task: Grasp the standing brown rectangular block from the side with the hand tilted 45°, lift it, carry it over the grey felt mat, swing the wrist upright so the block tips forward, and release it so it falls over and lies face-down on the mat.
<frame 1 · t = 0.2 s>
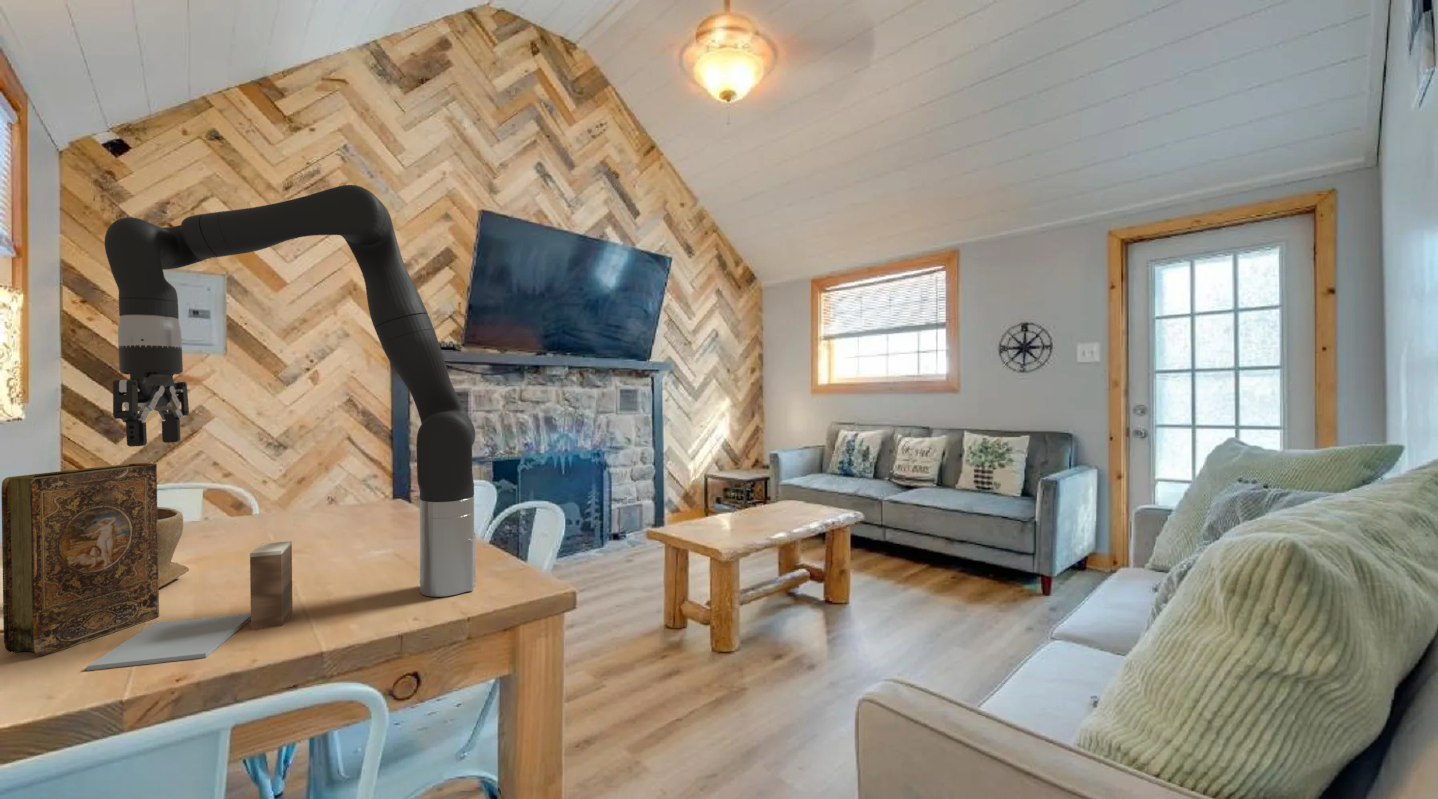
hand: (155, 444, 97), 28 cm above the table, tool pointing down, fingers open, 8 cm apart
book: (91, 634, 90), on the table
stone cup: (147, 589, 110), on the table
felt mat: (178, 641, 88), on the table
brown rectangular block: (272, 620, 96), on the table
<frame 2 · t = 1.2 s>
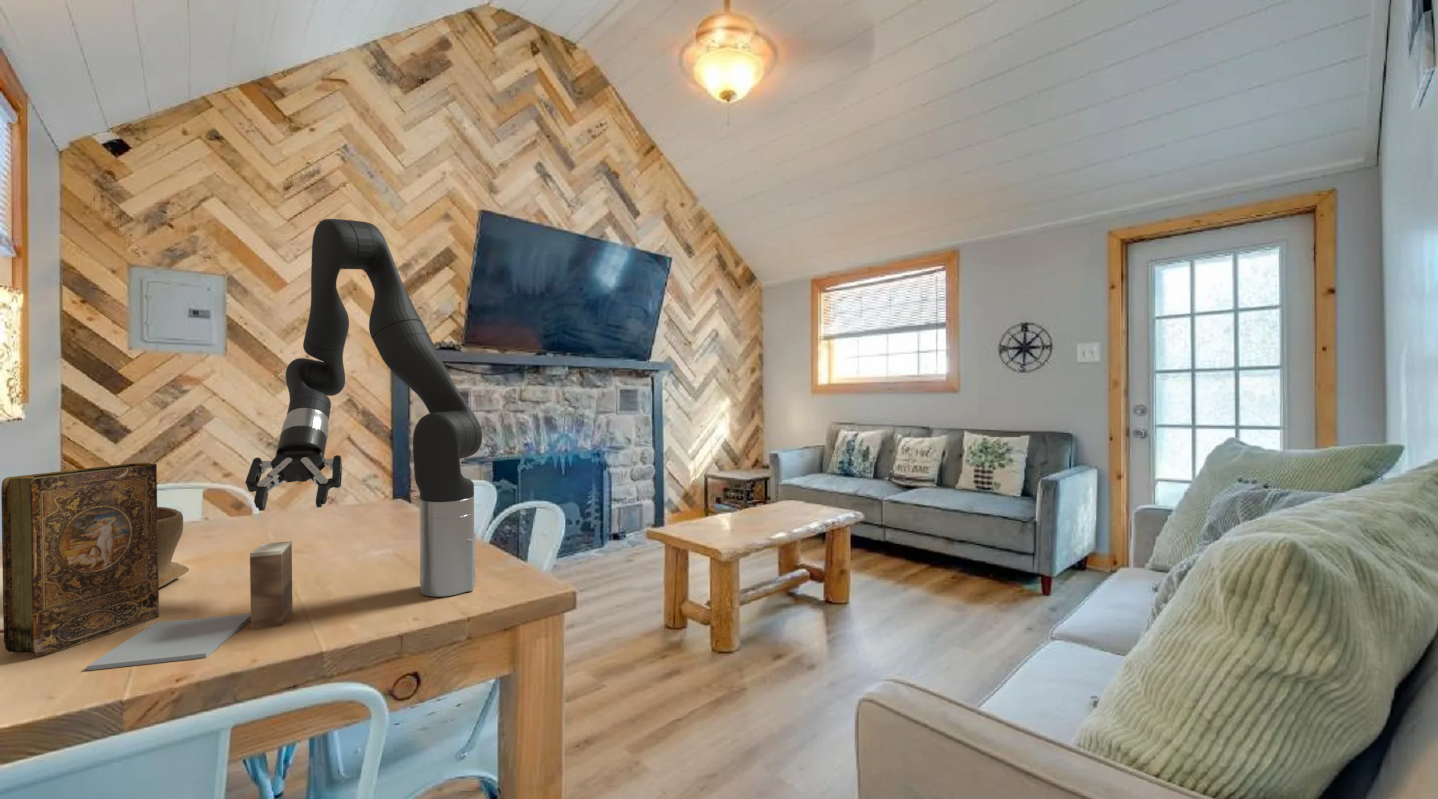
hand: (290, 506, 106), 16 cm above the table, tool tilted 45°, fingers open, 8 cm apart
nothing on the table moved.
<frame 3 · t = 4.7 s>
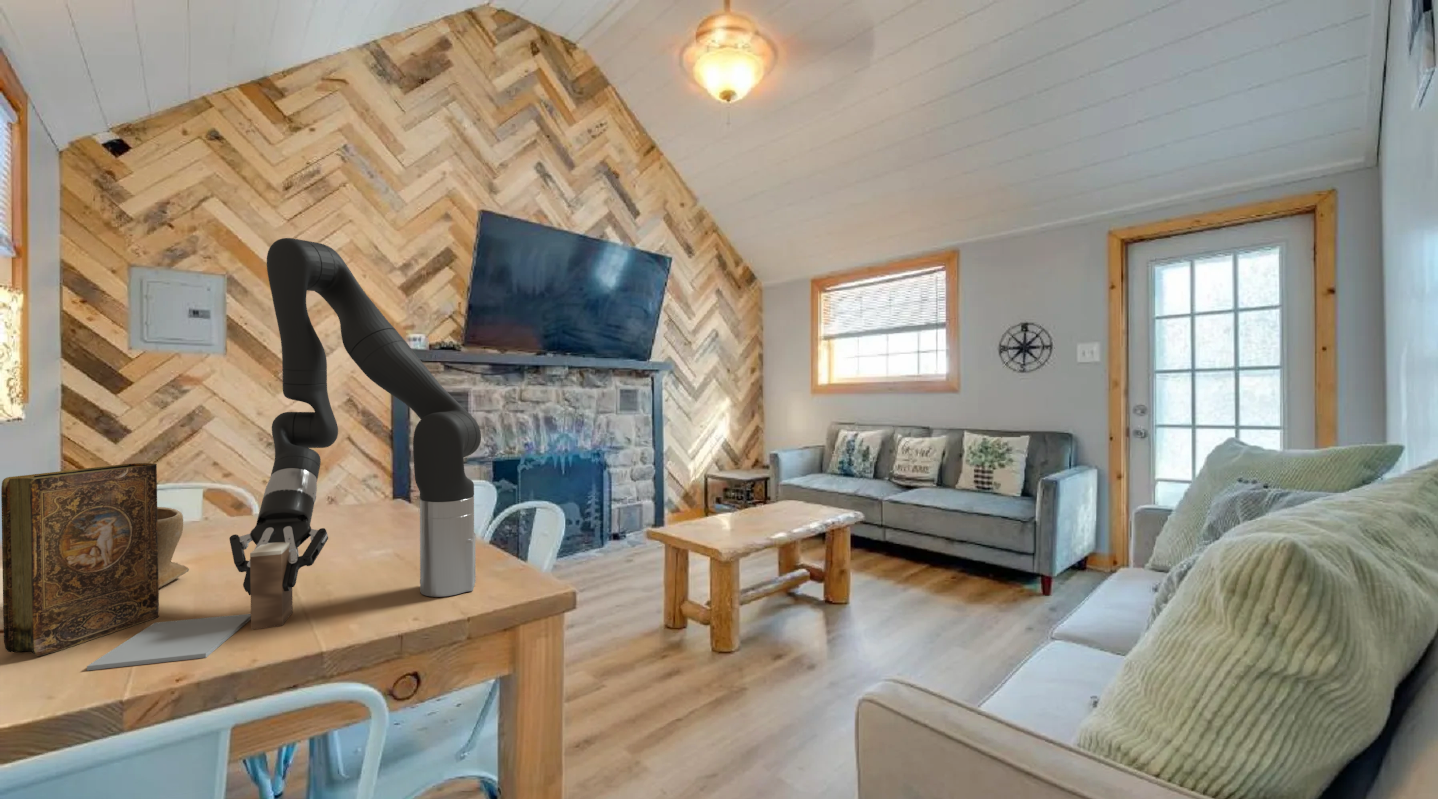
hand: (268, 590, 94), 6 cm above the table, tool tilted 45°, fingers closed on brown rectangular block, 4 cm apart
brown rectangular block: (272, 620, 96), on the table, touching gripper
everything else where it was.
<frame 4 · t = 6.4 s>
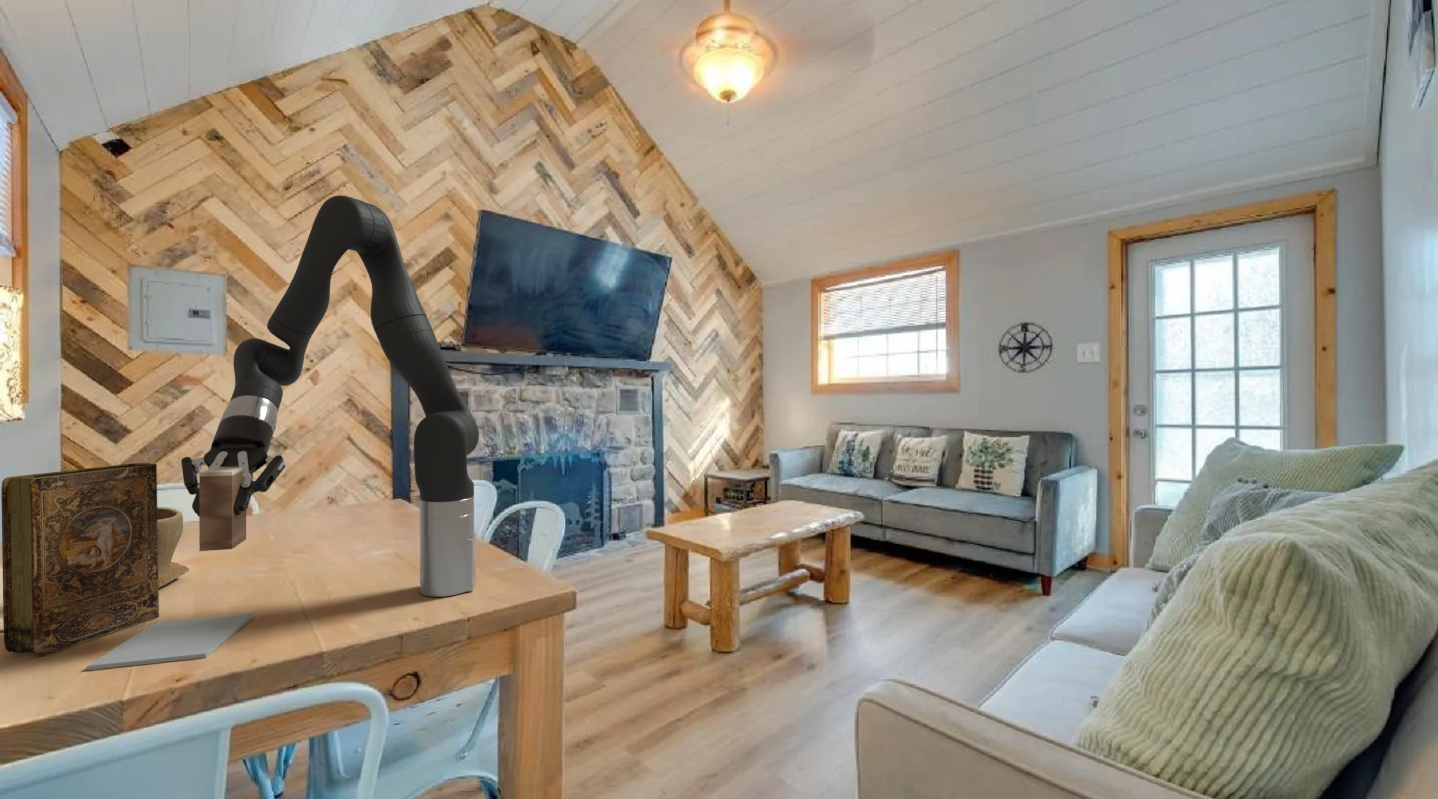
hand: (218, 512, 91), 18 cm above the table, tool tilted 45°, fingers closed on brown rectangular block, 4 cm apart
brown rectangular block: (223, 545, 93), point 13 cm above the table, touching gripper
everything else where it was.
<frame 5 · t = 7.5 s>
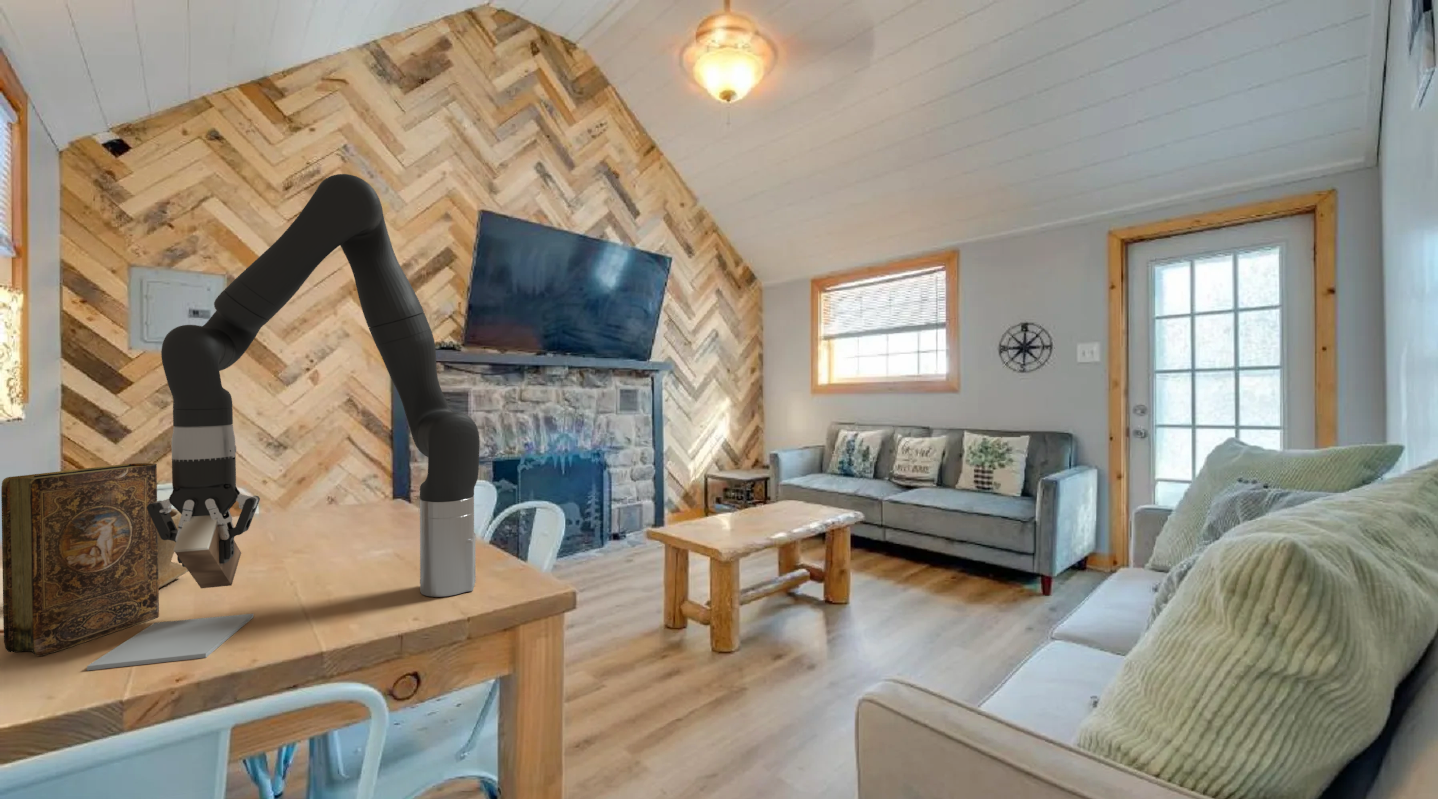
hand: (206, 563, 93), 10 cm above the table, tool pointing down, fingers closed on brown rectangular block, 4 cm apart
brown rectangular block: (221, 570, 98), point 7 cm above the table, tilted 45°, touching gripper
everything else where it was.
when the fingers open (6 cm above the table, at t = 8.5 s): brown rectangular block moves 2 cm and tips over, resting on felt mat.
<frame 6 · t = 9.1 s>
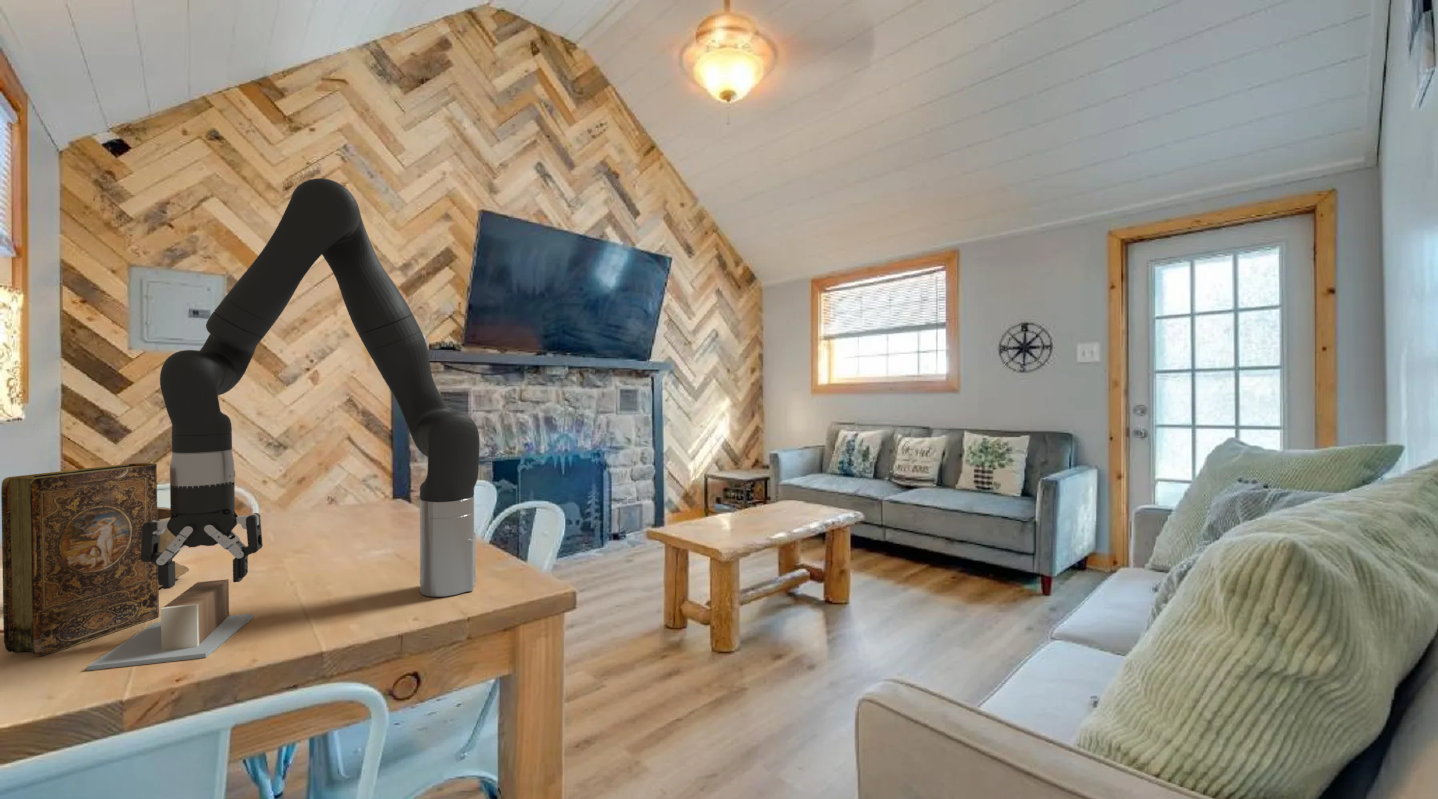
hand: (204, 584, 92), 7 cm above the table, tool pointing down, fingers open, 8 cm apart
brown rectangular block: (213, 599, 95), point 4 cm above the table, tilted 90°, touching felt mat
everything else where it was.
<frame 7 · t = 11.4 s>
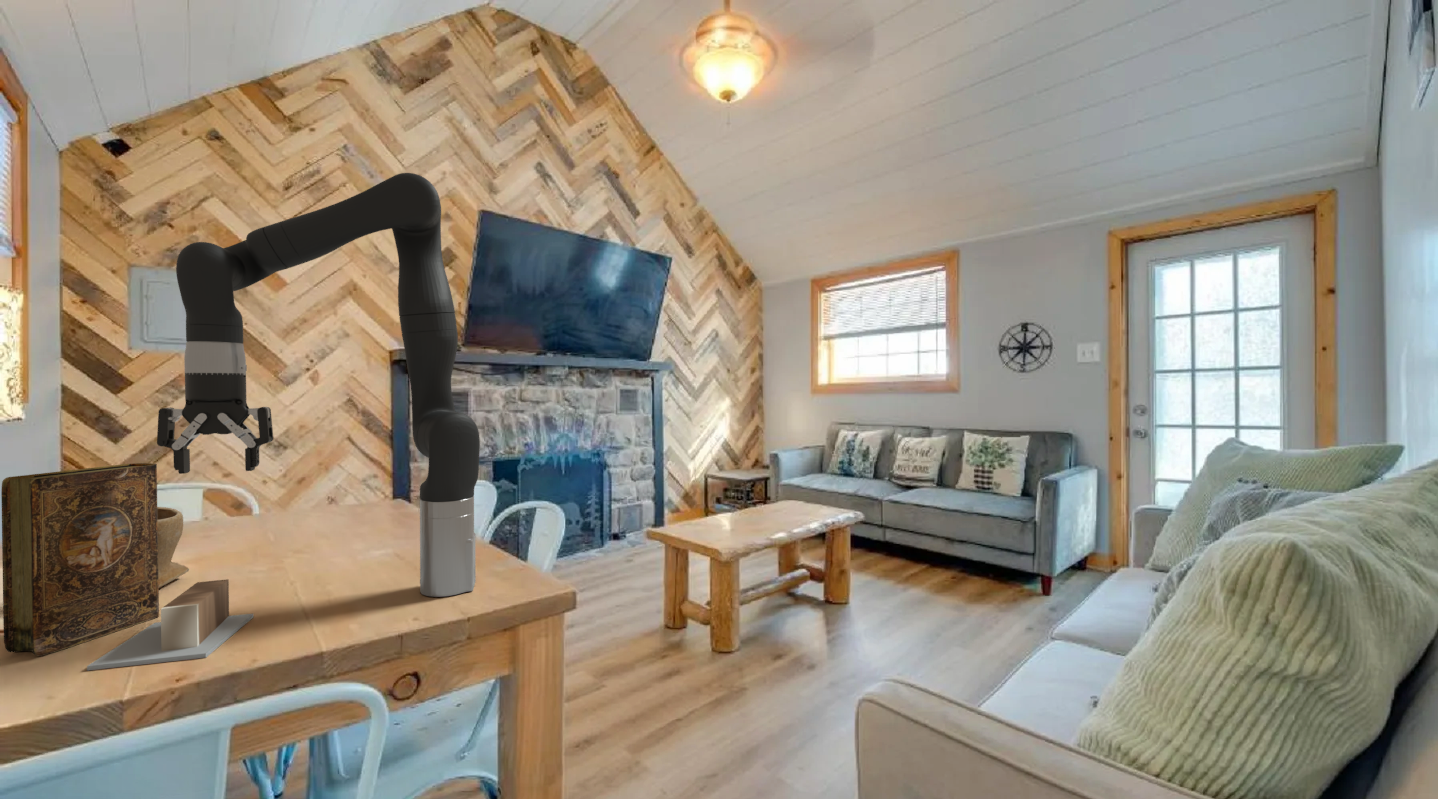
hand: (218, 471, 96), 24 cm above the table, tool pointing down, fingers open, 8 cm apart
nothing on the table moved.
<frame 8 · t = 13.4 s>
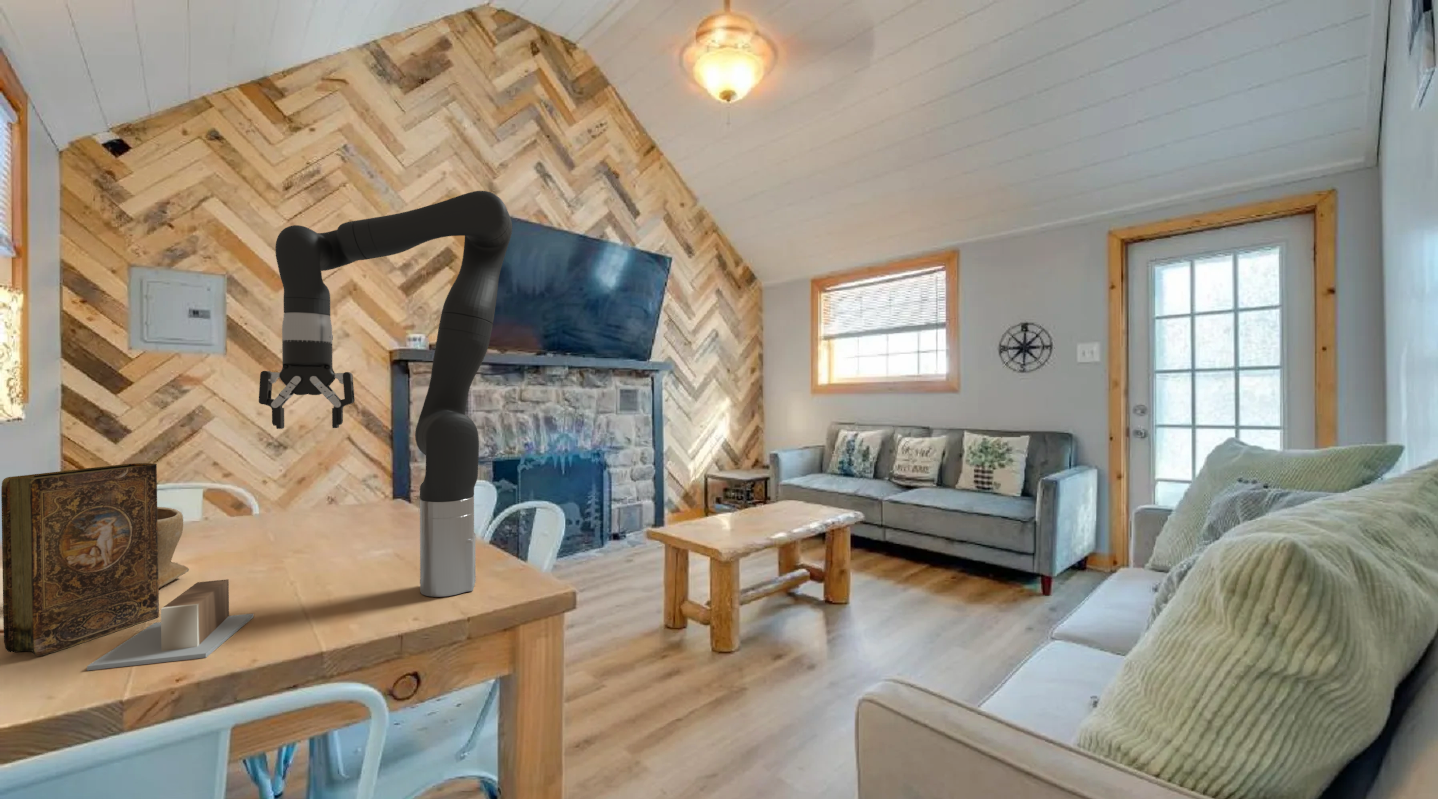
hand: (308, 428, 109), 30 cm above the table, tool pointing down, fingers open, 8 cm apart
nothing on the table moved.
at the end: brown rectangular block tilted 90°; brown rectangular block inside the target area (7.3 cm from its centre), point 3.6 cm above the table; the gripper is holding nothing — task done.
